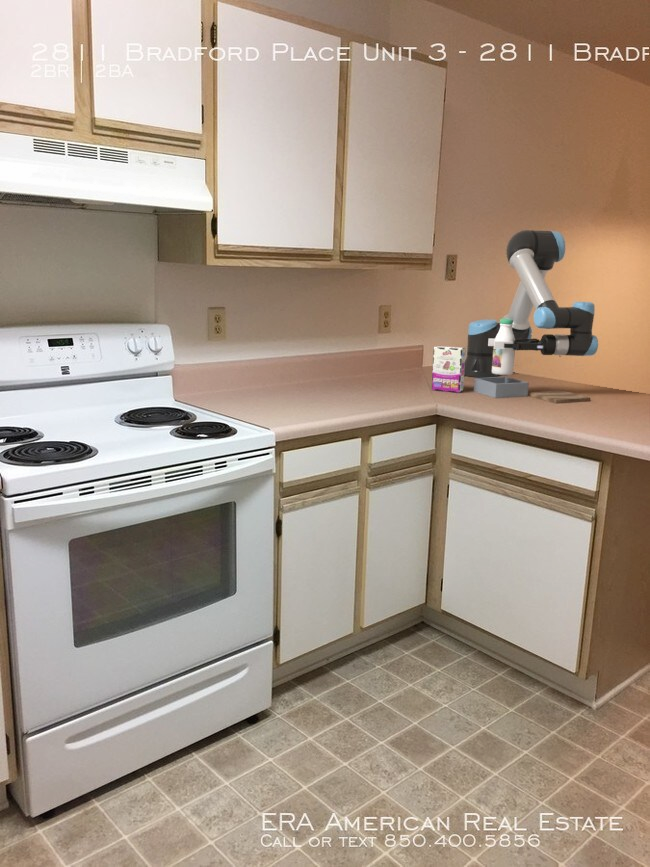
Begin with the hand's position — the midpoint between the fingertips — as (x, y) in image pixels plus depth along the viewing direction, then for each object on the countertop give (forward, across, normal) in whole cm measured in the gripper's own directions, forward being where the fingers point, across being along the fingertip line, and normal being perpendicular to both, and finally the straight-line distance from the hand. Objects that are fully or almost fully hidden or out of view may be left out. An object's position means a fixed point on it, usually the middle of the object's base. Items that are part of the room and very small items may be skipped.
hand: (491, 343), depth 264 cm
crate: (-5, 0, -18) cm, 19 cm away
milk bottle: (-5, 0, -11) cm, 12 cm away
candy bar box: (+14, +5, -19) cm, 24 cm away
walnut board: (-24, -8, -18) cm, 31 cm away
